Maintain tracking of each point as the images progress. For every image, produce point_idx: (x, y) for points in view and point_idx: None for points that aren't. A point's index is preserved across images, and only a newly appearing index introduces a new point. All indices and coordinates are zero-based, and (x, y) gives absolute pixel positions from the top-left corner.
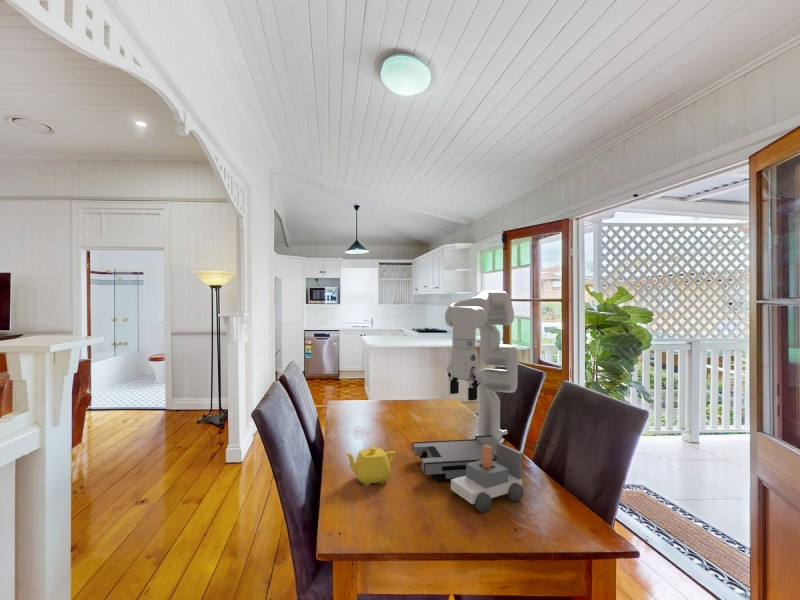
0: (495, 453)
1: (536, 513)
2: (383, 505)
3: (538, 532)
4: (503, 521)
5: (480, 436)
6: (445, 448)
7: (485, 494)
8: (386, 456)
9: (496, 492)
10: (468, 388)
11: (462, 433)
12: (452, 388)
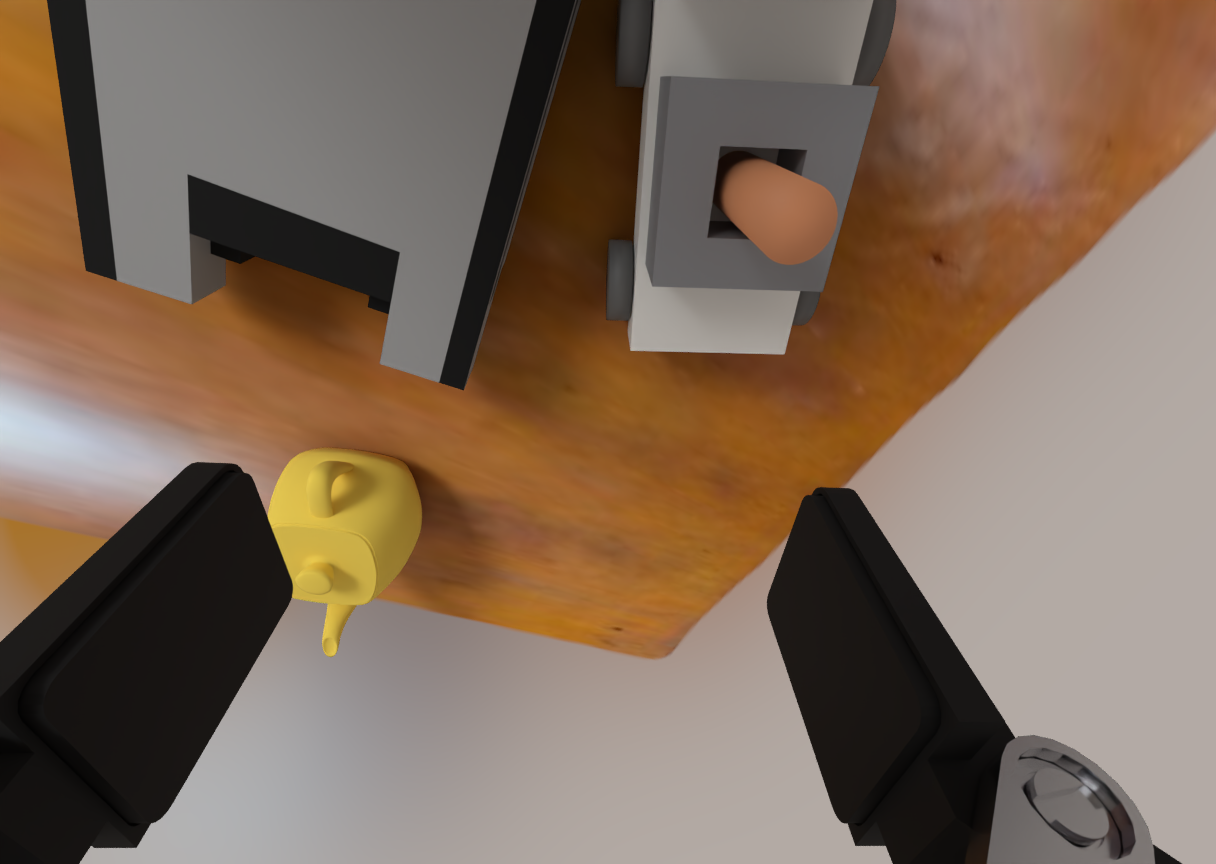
0: None
1: (970, 54)
2: (553, 522)
3: (1022, 190)
4: (879, 256)
5: None
6: (249, 121)
7: (816, 295)
8: (367, 530)
9: None
10: (854, 821)
11: None
12: (236, 670)
